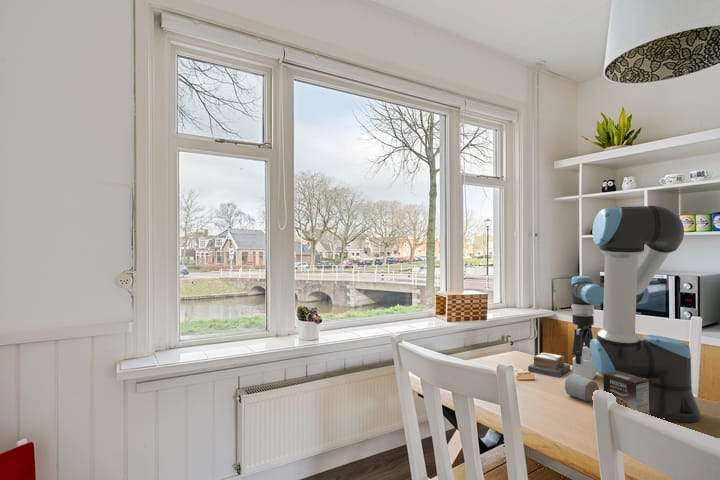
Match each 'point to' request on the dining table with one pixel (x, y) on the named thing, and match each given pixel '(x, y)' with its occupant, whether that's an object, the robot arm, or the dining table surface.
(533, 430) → the dining table surface
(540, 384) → the dining table surface
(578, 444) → the dining table surface
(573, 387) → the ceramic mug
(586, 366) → the medicine bottle
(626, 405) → the coffee box
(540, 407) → the dining table surface
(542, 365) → the pedestal stand
